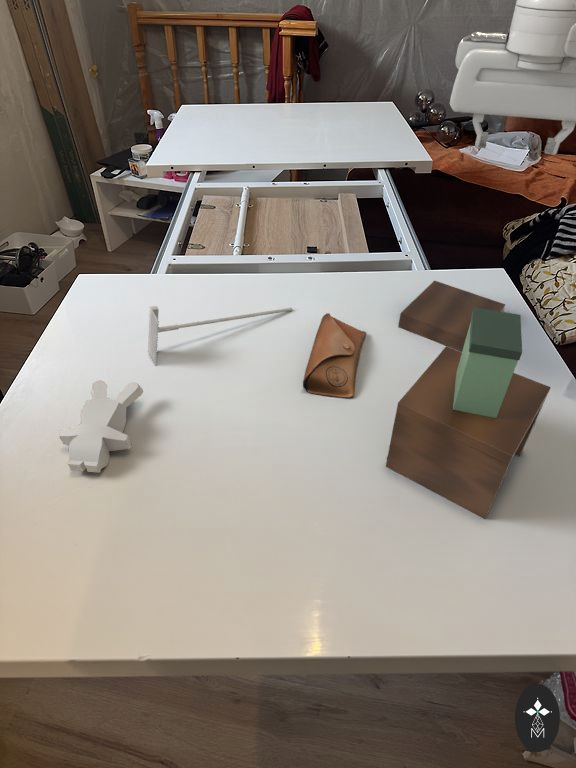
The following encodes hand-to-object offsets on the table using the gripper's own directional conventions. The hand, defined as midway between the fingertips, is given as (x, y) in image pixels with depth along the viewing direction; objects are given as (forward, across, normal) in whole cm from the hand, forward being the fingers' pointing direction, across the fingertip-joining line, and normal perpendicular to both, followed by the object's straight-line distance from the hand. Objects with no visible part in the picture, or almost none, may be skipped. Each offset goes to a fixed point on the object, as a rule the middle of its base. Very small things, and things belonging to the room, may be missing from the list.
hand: (514, 150), depth 75 cm
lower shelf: (+31, -3, +1) cm, 31 cm away
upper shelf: (+31, 0, -32) cm, 44 cm away
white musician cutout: (+31, -48, -42) cm, 71 cm away
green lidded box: (+19, 0, -32) cm, 37 cm away
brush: (+31, -42, -14) cm, 54 cm away
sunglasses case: (+31, -20, -16) cm, 40 cm away
